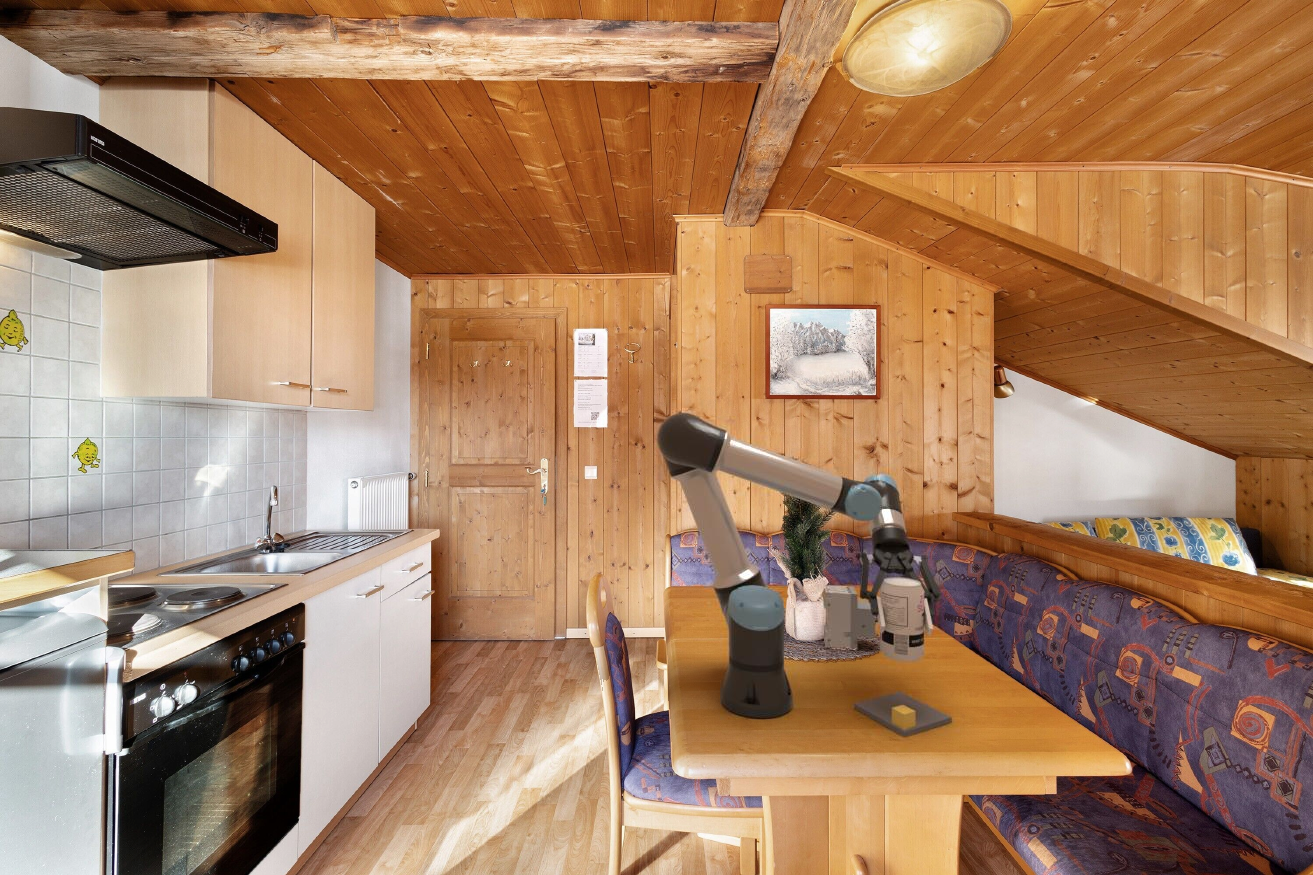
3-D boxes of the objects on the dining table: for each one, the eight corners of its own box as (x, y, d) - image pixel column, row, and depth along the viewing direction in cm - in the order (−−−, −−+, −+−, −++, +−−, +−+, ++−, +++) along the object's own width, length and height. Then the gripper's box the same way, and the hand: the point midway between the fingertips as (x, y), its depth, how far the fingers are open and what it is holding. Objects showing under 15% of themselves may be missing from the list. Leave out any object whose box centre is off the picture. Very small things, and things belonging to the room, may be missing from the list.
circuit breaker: (882, 652, 156) (882, 595, 156) (825, 648, 159) (825, 592, 159) (877, 642, 164) (877, 587, 163) (823, 639, 166) (823, 585, 166)
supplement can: (874, 647, 127) (874, 576, 126) (914, 647, 126) (914, 576, 126) (888, 662, 118) (888, 586, 118) (930, 663, 118) (931, 587, 118)
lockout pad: (904, 736, 114) (904, 716, 114) (854, 708, 126) (854, 689, 125) (951, 722, 119) (951, 702, 119) (899, 695, 131) (899, 677, 131)
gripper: (935, 545, 135) (958, 642, 120) (838, 543, 139) (848, 636, 123) (942, 526, 130) (967, 624, 115) (841, 523, 134) (852, 618, 118)
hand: (905, 630), depth 119 cm, fingers closed on supplement can, 8 cm apart
